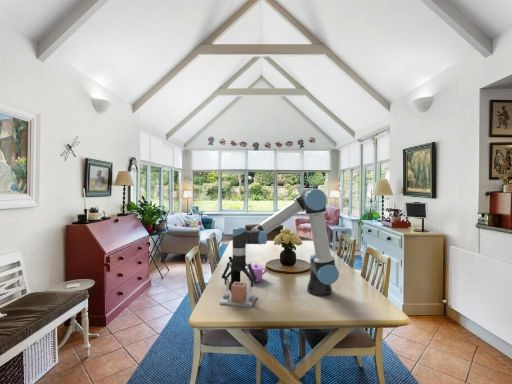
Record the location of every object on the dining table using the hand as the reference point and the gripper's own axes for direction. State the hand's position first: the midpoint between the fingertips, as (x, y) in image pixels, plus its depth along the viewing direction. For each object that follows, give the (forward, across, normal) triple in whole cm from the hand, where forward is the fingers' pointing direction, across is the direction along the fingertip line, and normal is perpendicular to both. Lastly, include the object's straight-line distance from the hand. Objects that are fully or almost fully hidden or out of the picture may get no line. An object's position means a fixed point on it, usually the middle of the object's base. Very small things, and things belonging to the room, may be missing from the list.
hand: (238, 291), depth 160 cm
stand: (+5, 0, 0) cm, 5 cm away
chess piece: (+5, +7, -17) cm, 19 cm away
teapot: (+6, -2, -36) cm, 36 cm away
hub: (+4, 0, 0) cm, 4 cm away
